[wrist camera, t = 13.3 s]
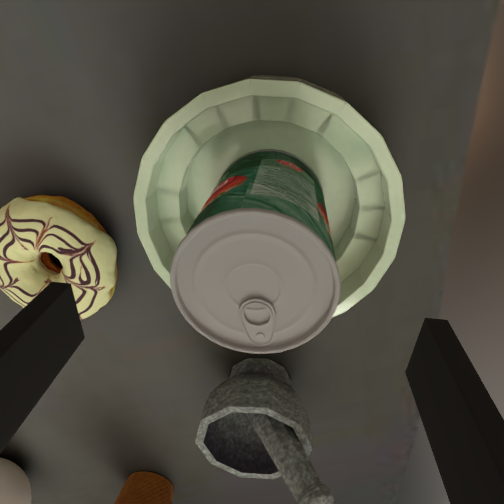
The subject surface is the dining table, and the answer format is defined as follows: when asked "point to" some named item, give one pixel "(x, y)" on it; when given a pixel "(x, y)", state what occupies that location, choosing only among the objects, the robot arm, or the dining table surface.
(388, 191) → the bowl
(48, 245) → the decorated donut
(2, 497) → the decorative ball
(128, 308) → the dining table surface
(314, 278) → the canned tomato
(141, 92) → the dining table surface
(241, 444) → the mortar and pestle
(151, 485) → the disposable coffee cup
